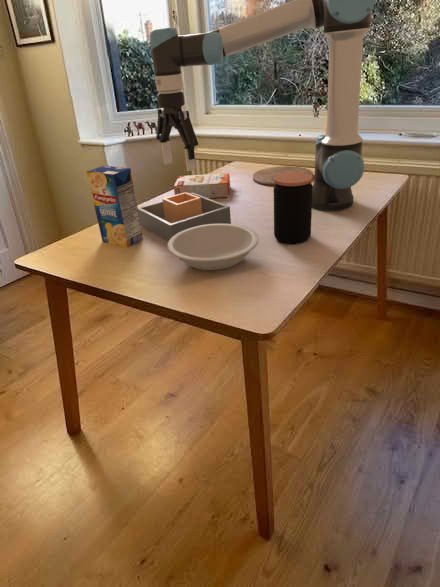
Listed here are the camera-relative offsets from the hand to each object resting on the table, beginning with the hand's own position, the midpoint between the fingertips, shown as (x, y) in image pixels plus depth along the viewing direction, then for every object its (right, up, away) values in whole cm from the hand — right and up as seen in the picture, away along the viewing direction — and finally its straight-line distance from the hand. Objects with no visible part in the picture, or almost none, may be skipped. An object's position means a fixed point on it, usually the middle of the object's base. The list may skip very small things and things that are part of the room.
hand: (179, 166), depth 134 cm
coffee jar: (+34, -23, -6) cm, 42 cm away
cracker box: (+16, +3, +35) cm, 39 cm away
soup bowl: (+11, -31, -17) cm, 37 cm away
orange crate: (+1, -16, +9) cm, 18 cm away
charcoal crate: (+1, -17, +9) cm, 19 cm away
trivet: (+39, +9, +48) cm, 63 cm away
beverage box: (-18, -23, +1) cm, 29 cm away
